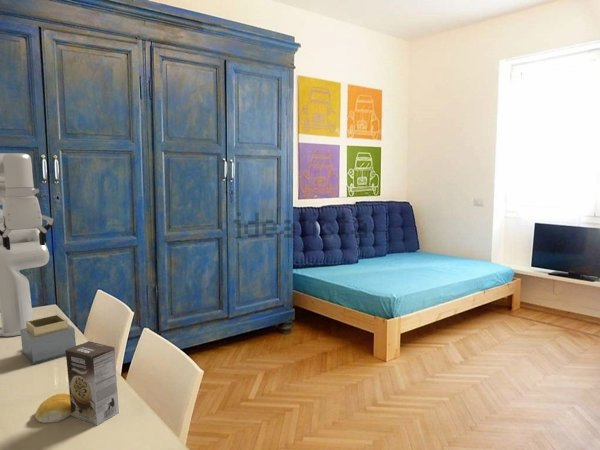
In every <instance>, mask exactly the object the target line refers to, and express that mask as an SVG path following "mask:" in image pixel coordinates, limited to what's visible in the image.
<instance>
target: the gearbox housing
mask: <svg viewBox="0 0 600 450" xmlns="http://www.w3.org/2000/svg"><path fill="white" fill-rule="evenodd" d="M20 331H21V335H20V337H21V339H20V340H21V341H20V342H21V348H22V349H21V351H22V355H23V356H24V357H25V358H26V359H27V360H28V361H29V362H30V364H32V365H33V366H35V365H40V364H43V363H46V362H49V361H54V360H57V359H60V358H63V357H66V351H65V350H67V349H69V348H72V347H74V346H77V342H76V334H75V333H76V332H75V331H76V330H75V327H73V326H72V325H70V324H69V323H68V320H67V319H65V318H64V317H63V316H61V315H59V314H54V315H49V316H46V317H45V316H43V317H40V318H35V319H33V320H31V321H26V328H25V329H20Z"/></svg>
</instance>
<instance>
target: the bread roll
mask: <svg viewBox="0 0 600 450" xmlns="http://www.w3.org/2000/svg"><path fill="white" fill-rule="evenodd" d="M34 414H35V420H36V421H37V422H39V423H42V424H46V423H57V422H61V421H63V420H66V419H67V418H69V417H70V416H72V414H71V403H70V393H65V392H64V393H57V394H54V395H52V396H49V397H48V398H47V399H45V400H43V401H42V402H41V403H40V404H39V406H38V408H37V410H36V411H35V413H34Z"/></svg>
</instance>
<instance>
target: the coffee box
mask: <svg viewBox="0 0 600 450" xmlns="http://www.w3.org/2000/svg"><path fill="white" fill-rule="evenodd" d="M65 351H66V356H65V359H66V368H67V378H68V379H67V380H68V389H69V390H68V391H69V394H70V403H71V416H72V417H73V418H76V419H77V420H78V419H79V420H82V421H85V422H87V423H90V424H92V425H95V426H99V425H100V424H103V423H104V422H106V421H107V420H109V419H111V418H113V417H114V416H116V415H118V414H119V413H120V409H119V407H120V406H119V397H118V396H119V394H118V393H119V392H118V382H117V381H118V379H117V378H118V377H117V363H116V350H115V347H114V346H109V345H106V344H104V343H103V344H102V343H99V342H98V343H97V342H95V341H91V340H89V341H88V340H87V341H86V342H83V343H80V344H76V346H74V347H72V348H69V349H67V350H65Z"/></svg>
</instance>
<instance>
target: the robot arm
mask: <svg viewBox="0 0 600 450" xmlns="http://www.w3.org/2000/svg"><path fill="white" fill-rule="evenodd" d="M33 176H34V175H33V163H32V157H31V155H29V154H27V153H24V152H23V153H18V152H16V153H14V152H13V153H9V152H8V153H7V152H6V153H3V152H2V153H0V206H2V208H0V320H1V327H0V337H16V336H21V331H20V329H25V328H26V321H31V320H34V317H33V308H32V297H31V296H32V295H31V289H30V287H31V286H30V281H29V279H28V278H27V276H25V275H24V274H22V273H21V272H20V271H23V270H27V269H33V268H39V267H43V266H46V265H47V264H48V263H49V261H50V252H49V249H48V247H47V244H46V243H47V232H48V231H49V230H50V229H51V228H52V226H53V222H54V221H55V220H54V218H52V217H50V216H47V215H44V214H42V211H41V207H40V206H41V205H40V202H39V199H38V197H37V196H36V194H39V193H40V188H35V186H34V177H33ZM43 220H45V221H47V222H46V224H45V225H44V226H43Z"/></svg>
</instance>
